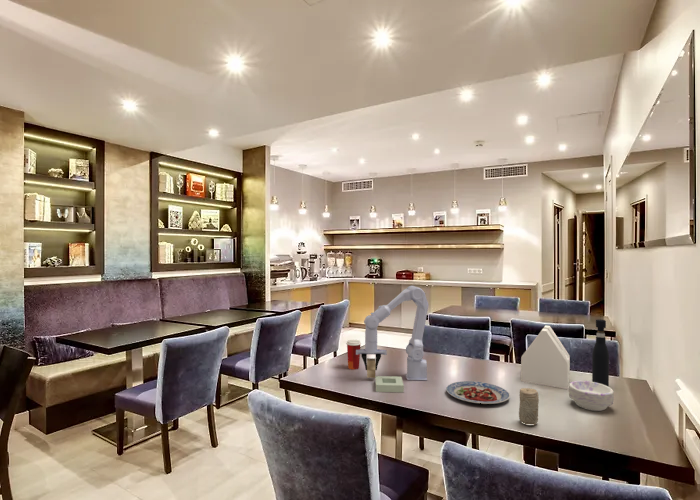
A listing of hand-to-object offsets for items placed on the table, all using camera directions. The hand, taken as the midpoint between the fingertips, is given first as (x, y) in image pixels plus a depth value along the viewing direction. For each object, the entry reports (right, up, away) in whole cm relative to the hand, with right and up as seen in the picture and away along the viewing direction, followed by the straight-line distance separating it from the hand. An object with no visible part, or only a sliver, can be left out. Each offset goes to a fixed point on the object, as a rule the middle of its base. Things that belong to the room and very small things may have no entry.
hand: (371, 369), depth 189 cm
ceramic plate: (+44, -6, -20) cm, 49 cm away
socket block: (+8, -5, -10) cm, 14 cm away
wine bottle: (+105, -6, -7) cm, 105 cm away
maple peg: (0, -3, 0) cm, 3 cm away
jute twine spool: (+54, -5, -47) cm, 71 cm away
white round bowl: (+86, -6, -31) cm, 91 cm away
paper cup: (-8, -5, +18) cm, 21 cm away
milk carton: (+83, -6, 0) cm, 83 cm away
